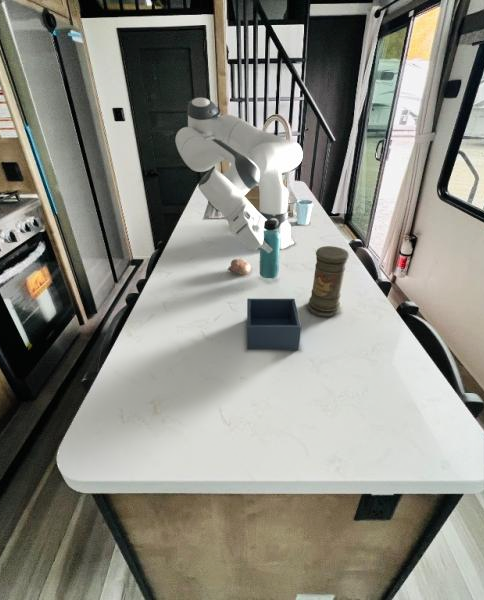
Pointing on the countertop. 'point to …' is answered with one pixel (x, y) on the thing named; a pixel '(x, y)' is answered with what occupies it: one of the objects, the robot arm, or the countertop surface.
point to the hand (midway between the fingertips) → (272, 247)
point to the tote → (272, 324)
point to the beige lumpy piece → (239, 267)
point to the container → (328, 281)
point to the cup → (303, 211)
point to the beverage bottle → (271, 260)
